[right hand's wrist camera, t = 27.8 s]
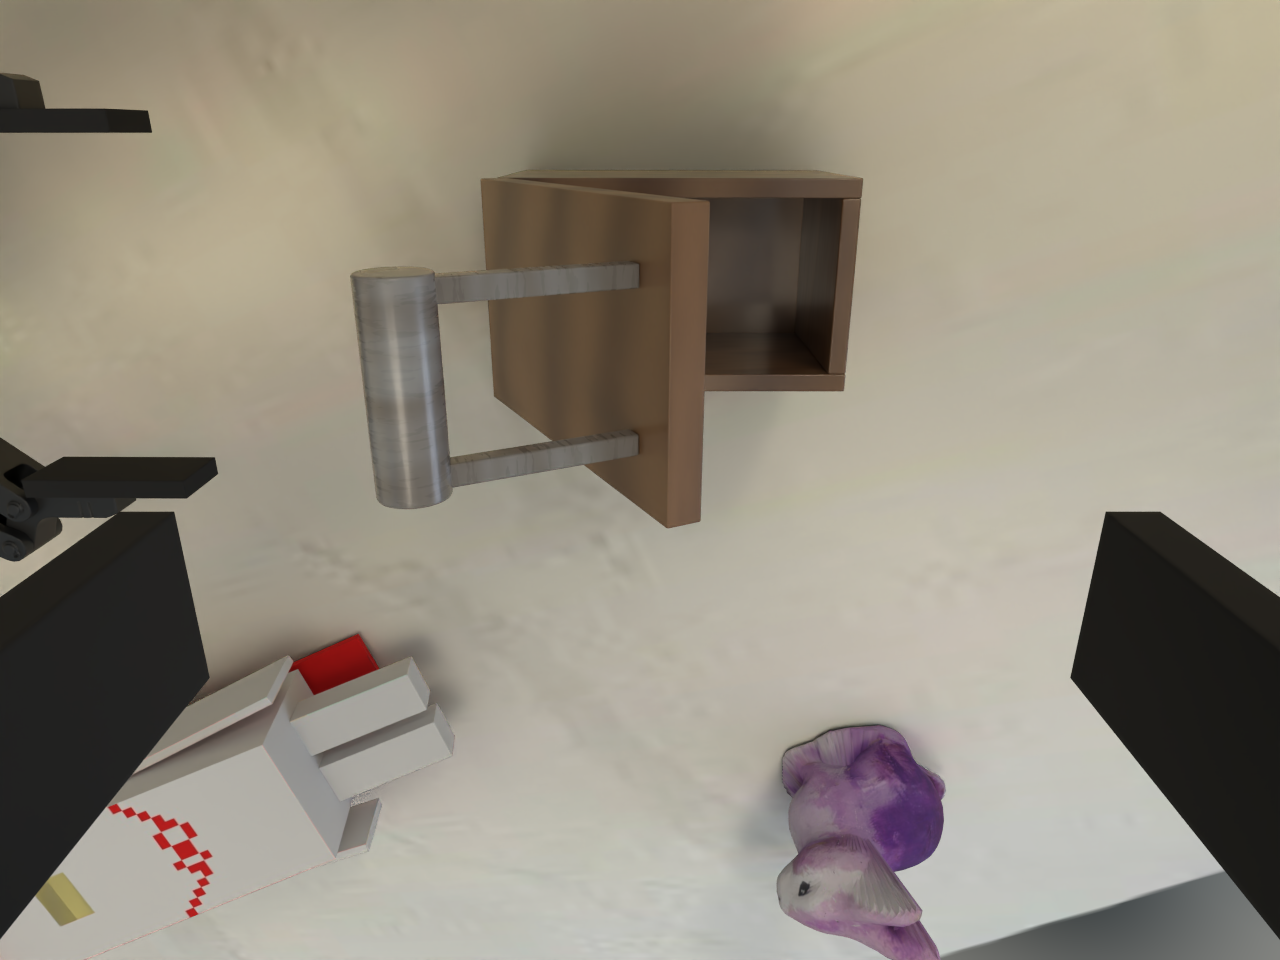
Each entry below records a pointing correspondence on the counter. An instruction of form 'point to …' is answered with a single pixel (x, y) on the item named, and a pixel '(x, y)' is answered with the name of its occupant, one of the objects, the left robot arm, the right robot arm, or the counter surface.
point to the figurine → (860, 838)
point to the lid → (553, 347)
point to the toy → (239, 800)
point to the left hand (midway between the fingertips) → (169, 312)
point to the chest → (763, 268)
